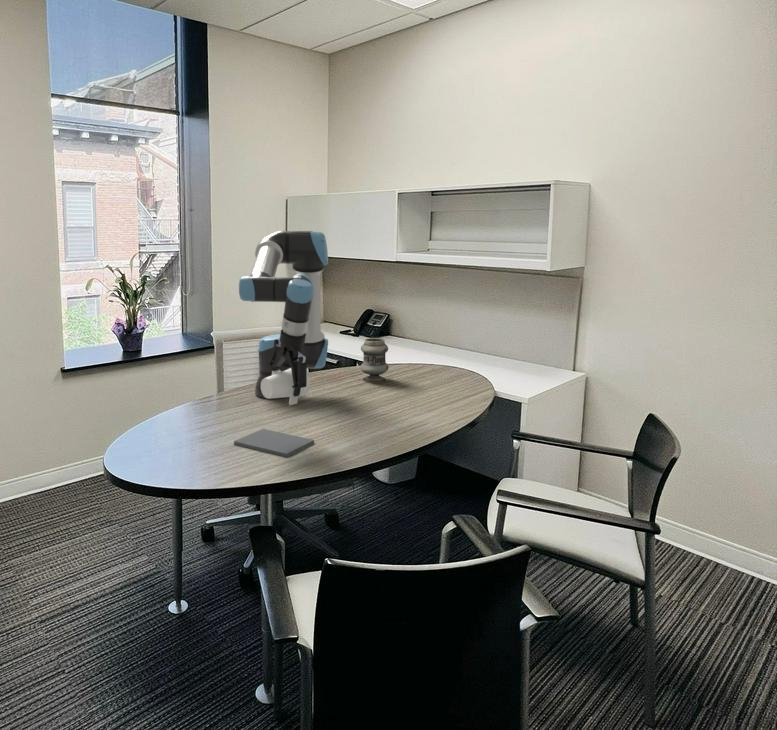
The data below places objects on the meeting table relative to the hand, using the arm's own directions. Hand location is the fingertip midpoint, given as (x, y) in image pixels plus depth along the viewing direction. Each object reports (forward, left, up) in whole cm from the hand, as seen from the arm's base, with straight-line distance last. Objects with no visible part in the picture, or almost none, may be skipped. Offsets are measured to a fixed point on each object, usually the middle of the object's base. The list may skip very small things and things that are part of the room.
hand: (283, 396), depth 200 cm
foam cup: (-1, -7, +4) cm, 8 cm away
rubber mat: (+1, -6, -14) cm, 15 cm away
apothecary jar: (-12, +80, -14) cm, 82 cm away
